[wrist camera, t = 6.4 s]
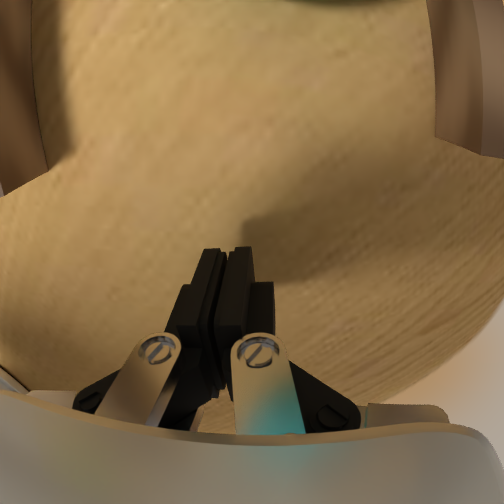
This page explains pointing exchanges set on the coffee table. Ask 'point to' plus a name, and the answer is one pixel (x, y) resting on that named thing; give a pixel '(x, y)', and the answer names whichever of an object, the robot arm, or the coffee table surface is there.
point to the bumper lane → (445, 63)
